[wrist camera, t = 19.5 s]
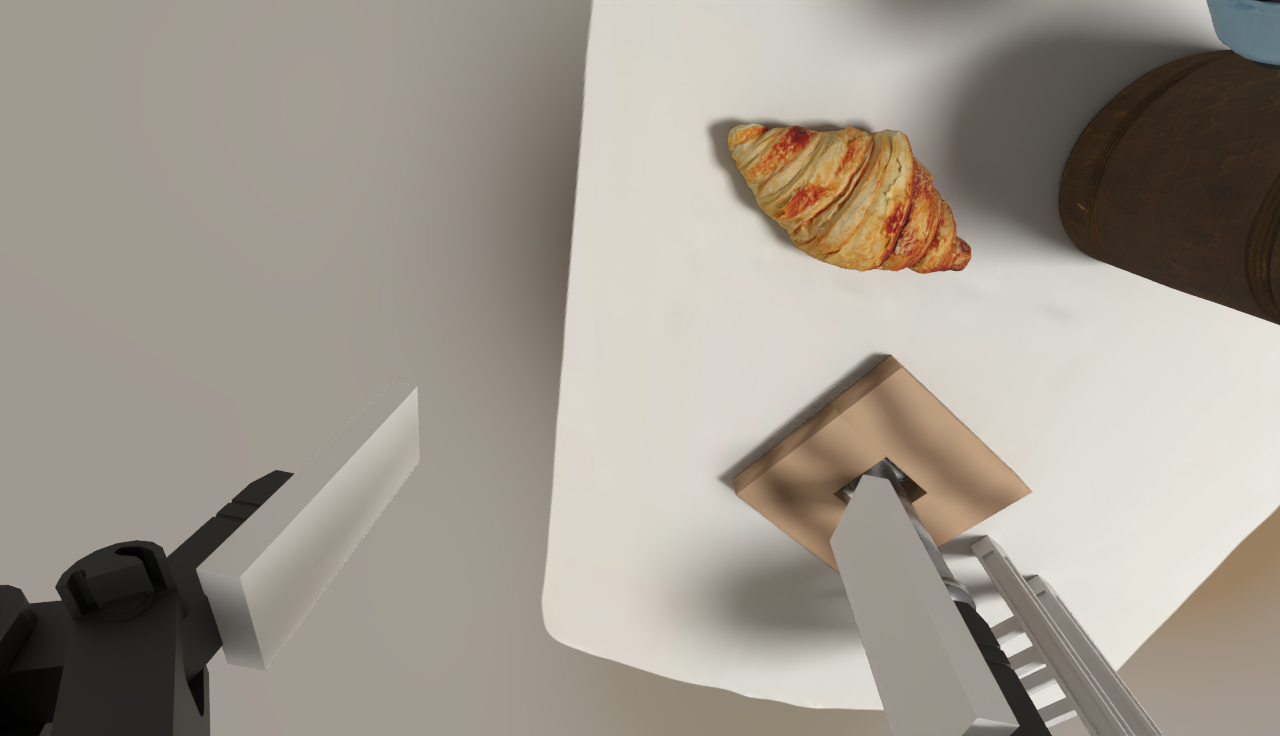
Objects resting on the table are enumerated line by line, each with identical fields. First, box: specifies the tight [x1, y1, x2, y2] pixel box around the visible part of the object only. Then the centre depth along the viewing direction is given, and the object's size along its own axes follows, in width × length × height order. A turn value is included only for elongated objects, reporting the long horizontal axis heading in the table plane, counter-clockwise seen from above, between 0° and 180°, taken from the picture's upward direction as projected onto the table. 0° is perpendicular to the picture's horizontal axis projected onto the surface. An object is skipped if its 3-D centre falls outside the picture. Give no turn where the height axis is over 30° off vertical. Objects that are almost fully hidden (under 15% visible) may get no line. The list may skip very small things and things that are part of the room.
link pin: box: [850, 461, 976, 611], centre depth 46 cm, size 5×5×16 cm
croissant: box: [728, 123, 971, 274], centre depth 39 cm, size 21×10×8 cm, turn 66°
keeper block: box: [734, 355, 1032, 573], centre depth 52 cm, size 20×20×2 cm
